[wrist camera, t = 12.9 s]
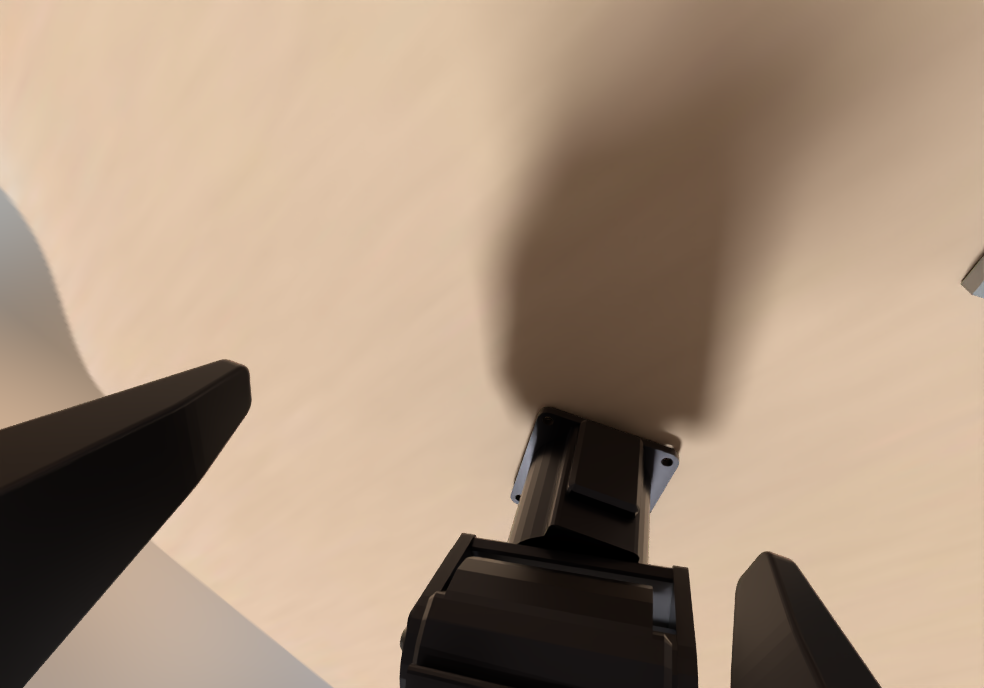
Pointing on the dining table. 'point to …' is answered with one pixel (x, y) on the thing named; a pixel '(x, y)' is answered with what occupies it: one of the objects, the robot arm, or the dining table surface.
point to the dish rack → (975, 280)
